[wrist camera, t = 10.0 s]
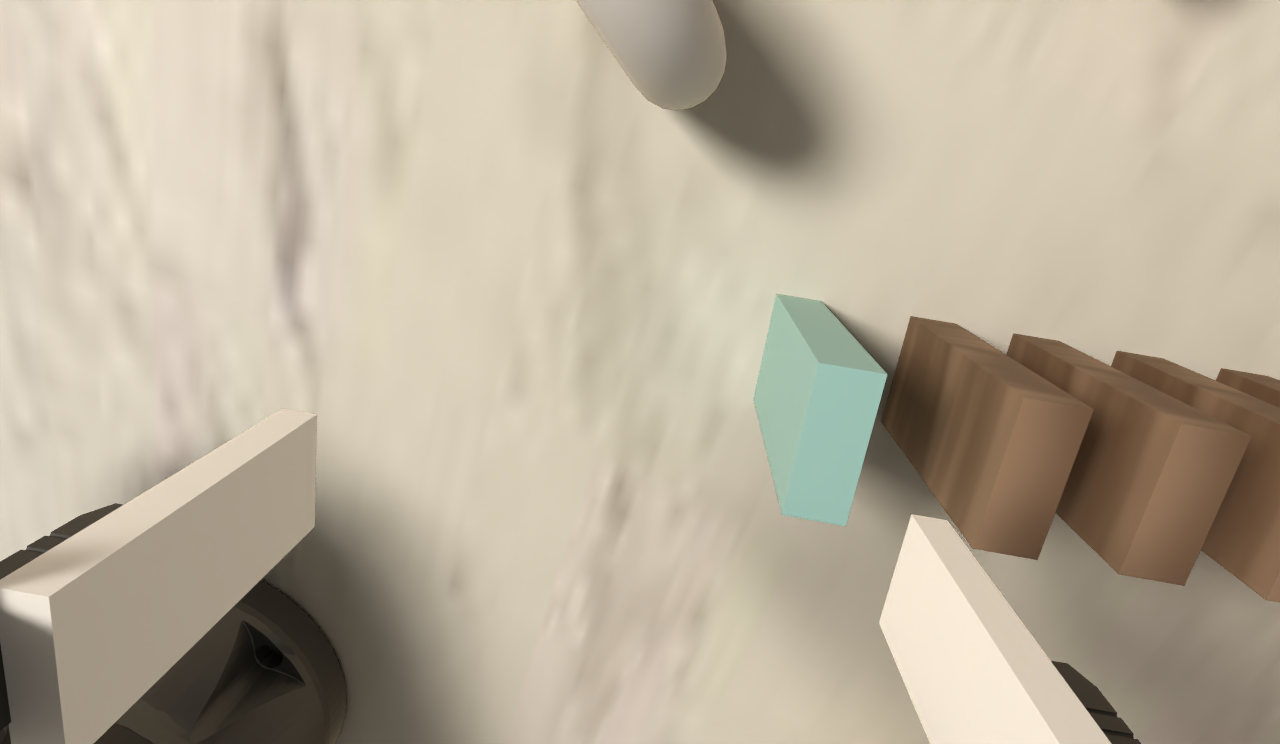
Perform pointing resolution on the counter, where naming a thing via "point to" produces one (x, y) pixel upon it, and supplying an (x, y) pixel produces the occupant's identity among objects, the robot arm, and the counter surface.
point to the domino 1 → (984, 435)
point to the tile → (815, 409)
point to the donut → (664, 46)
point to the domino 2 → (1137, 465)
